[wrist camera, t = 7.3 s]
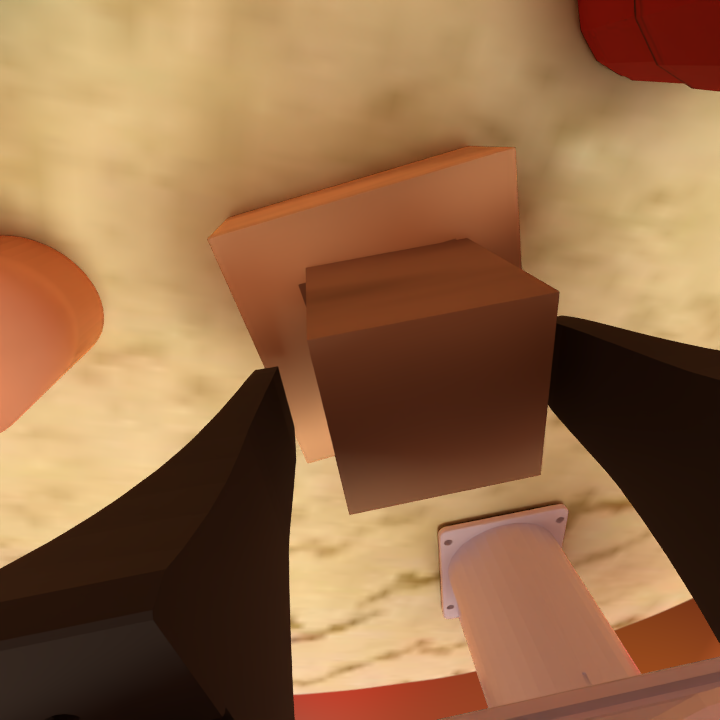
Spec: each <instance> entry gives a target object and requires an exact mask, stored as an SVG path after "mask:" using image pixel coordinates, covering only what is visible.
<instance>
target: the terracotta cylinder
mask: <svg viewBox="0 0 720 720" xmlns="http://www.w3.org/2000/svg"><path fill="white" fill-rule="evenodd" d="M103 324H104V313H103V307H102V303H101V300H100V297H99V295H98V292H97V291H96V289H95V287H94V285H93V284H92V282H91V281H90V280H89V278H88V277H87V276H86V274H85V273H84V272H83V271H82V270H81V269H80V268H79V267H78V266H77V265H76V264H75V263H73V262H72V261H71V260H70V259H68V258H67V257H66V256H64V255H63V254H61V253H60V252H58V251H56V250H55V249H53V248H51V247H49V246H46V245H44V244H42V243H39V242H36V241H34V240H30V239H26V238H22V237H16V236H0V433H1V432H3V431H5V430H6V429H7V428H9V427H10V426H11V425H12V424H13V423H14V422H15V421H17V420H18V419H19V418H20V417H21V416H22V415H23V414H24V413H25V412H26V411H27V410H28V409H29V408H30V407H31V406H32V405H33V404H34V403H35V402H36V401H37V400H38V399H39V398H40V397H41V396H42V395H43V394H44V393H45V392H46V391H47V390H49V389H50V388H51V387H52V386H53V385H54V384H55V383H56V382H57V381H58V380H59V379H60V378H61V377H62V376H63V375H64V374H65V373H66V372H67V371H68V370H69V369H70V368H71V367H72V366H73V365H74V364H75V363H76V362H77V361H78V360H79V359H80V358H82V357H83V356H84V355H85V354H86V353H87V352H88V351H89V350H90V349H91V348H92V347H93V346H94V344H95V343H96V342H97V340H98V339H99V337H100V335H101V332H102V329H103Z"/></svg>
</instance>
